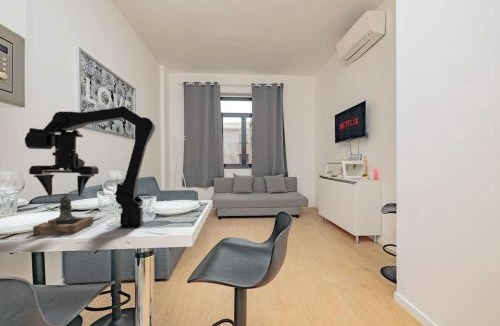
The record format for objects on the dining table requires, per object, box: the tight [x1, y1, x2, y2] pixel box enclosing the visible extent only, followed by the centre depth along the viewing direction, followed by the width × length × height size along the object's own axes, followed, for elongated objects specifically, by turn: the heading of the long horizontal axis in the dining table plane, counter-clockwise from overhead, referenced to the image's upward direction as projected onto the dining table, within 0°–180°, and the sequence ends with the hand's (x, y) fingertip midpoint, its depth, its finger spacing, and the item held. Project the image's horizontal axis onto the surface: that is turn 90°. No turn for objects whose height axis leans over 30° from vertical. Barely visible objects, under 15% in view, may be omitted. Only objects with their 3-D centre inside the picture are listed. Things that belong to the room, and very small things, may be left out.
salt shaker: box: [54, 193, 77, 224], centre depth 84 cm, size 6×6×12 cm
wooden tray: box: [32, 216, 94, 236], centre depth 84 cm, size 12×12×2 cm
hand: (65, 195), depth 84 cm, fingers open, 9 cm apart
